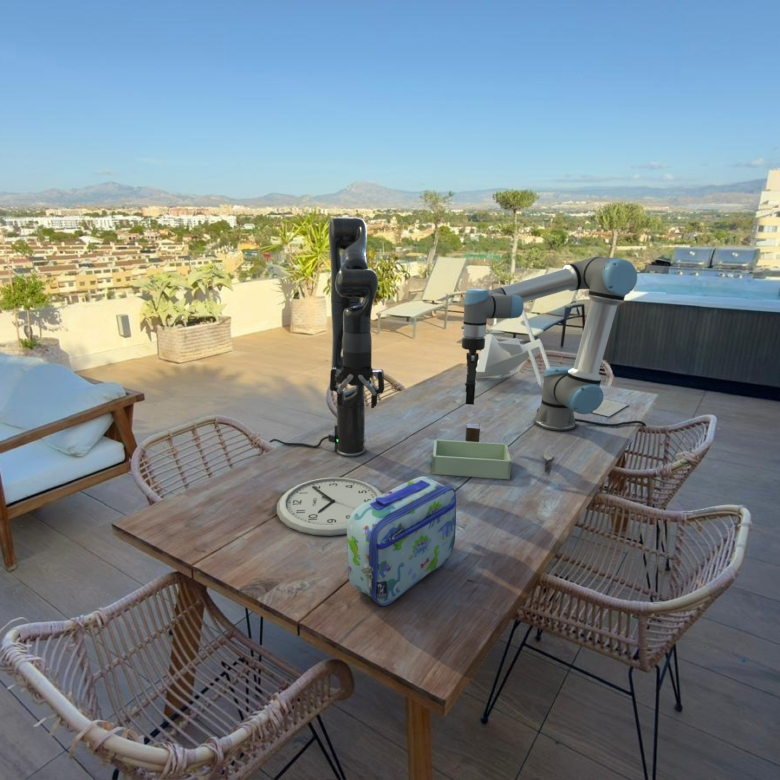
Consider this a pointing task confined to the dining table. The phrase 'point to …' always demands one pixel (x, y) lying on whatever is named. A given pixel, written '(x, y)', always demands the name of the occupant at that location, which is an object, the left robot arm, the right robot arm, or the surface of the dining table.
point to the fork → (547, 459)
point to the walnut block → (472, 432)
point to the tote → (471, 459)
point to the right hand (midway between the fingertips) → (469, 397)
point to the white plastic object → (509, 355)
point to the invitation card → (609, 407)
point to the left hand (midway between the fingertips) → (357, 406)
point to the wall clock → (324, 504)
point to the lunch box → (400, 538)
